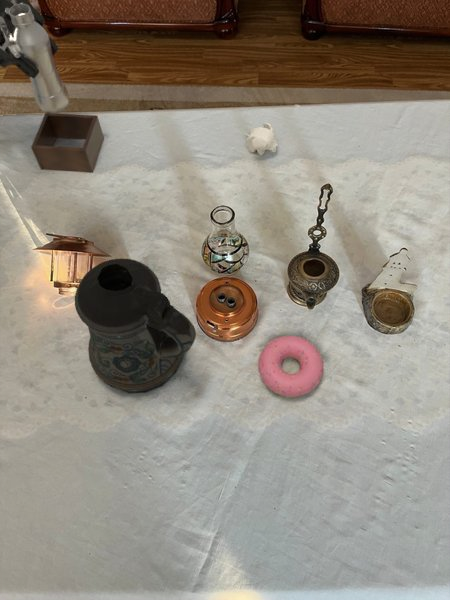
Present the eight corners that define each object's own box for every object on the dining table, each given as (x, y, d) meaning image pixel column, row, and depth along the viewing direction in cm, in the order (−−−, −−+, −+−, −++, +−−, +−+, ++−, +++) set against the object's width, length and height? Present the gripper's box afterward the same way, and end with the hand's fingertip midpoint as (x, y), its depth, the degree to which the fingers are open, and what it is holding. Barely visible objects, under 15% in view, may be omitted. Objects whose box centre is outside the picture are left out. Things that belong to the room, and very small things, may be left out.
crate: (43, 175, 115) (30, 147, 108) (56, 141, 120) (45, 112, 113) (94, 178, 114) (85, 150, 107) (105, 143, 119) (97, 115, 112)
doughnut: (254, 344, 93) (254, 333, 89) (315, 338, 93) (318, 327, 89) (261, 403, 87) (262, 394, 84) (327, 397, 87) (331, 388, 84)
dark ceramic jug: (98, 312, 97) (57, 227, 75) (203, 309, 97) (192, 224, 75) (87, 397, 89) (38, 330, 67) (202, 395, 88) (189, 327, 67)
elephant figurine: (271, 166, 114) (272, 145, 109) (237, 155, 116) (237, 134, 111) (282, 145, 117) (284, 124, 112) (250, 135, 119) (250, 114, 114)
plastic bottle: (70, 93, 107) (38, -5, 89) (73, 115, 104) (39, 19, 86) (38, 98, 106) (-1, 1, 89) (40, 121, 103) (0, 25, 86)
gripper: (-58, -3, 82) (34, 78, 90) (-7, -51, 88) (74, 29, 96) (-69, 23, 87) (18, 97, 95) (-21, -24, 94) (57, 50, 102)
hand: (46, 63), depth 96 cm, fingers closed on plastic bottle, 6 cm apart
